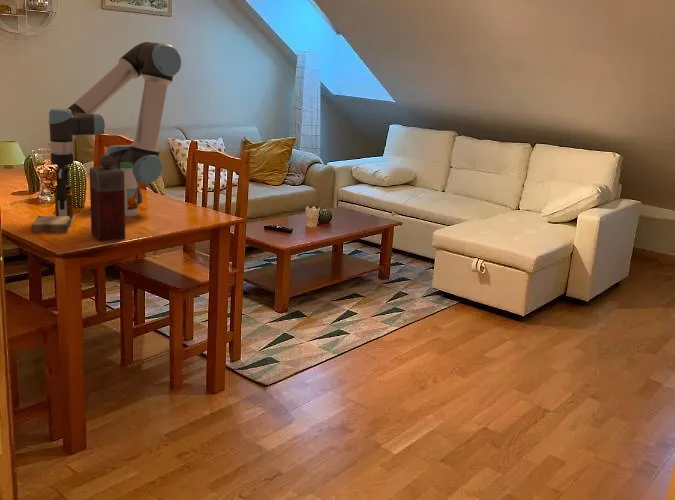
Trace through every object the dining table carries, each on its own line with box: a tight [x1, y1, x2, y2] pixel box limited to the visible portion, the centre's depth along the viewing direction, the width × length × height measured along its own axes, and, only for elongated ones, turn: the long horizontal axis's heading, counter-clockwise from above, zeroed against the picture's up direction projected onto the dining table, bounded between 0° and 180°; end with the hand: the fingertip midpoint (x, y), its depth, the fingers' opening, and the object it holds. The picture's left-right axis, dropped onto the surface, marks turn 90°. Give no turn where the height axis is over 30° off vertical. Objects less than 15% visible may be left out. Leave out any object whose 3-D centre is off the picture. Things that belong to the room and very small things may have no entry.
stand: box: [31, 215, 72, 234], centre depth 241 cm, size 11×11×3 cm
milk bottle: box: [120, 162, 139, 218], centre depth 263 cm, size 8×8×20 cm
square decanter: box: [89, 153, 126, 242], centre depth 233 cm, size 9×11×28 cm
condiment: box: [53, 184, 76, 222], centre depth 253 cm, size 7×8×12 cm
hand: (64, 215), depth 255 cm, fingers closed on condiment, 6 cm apart
